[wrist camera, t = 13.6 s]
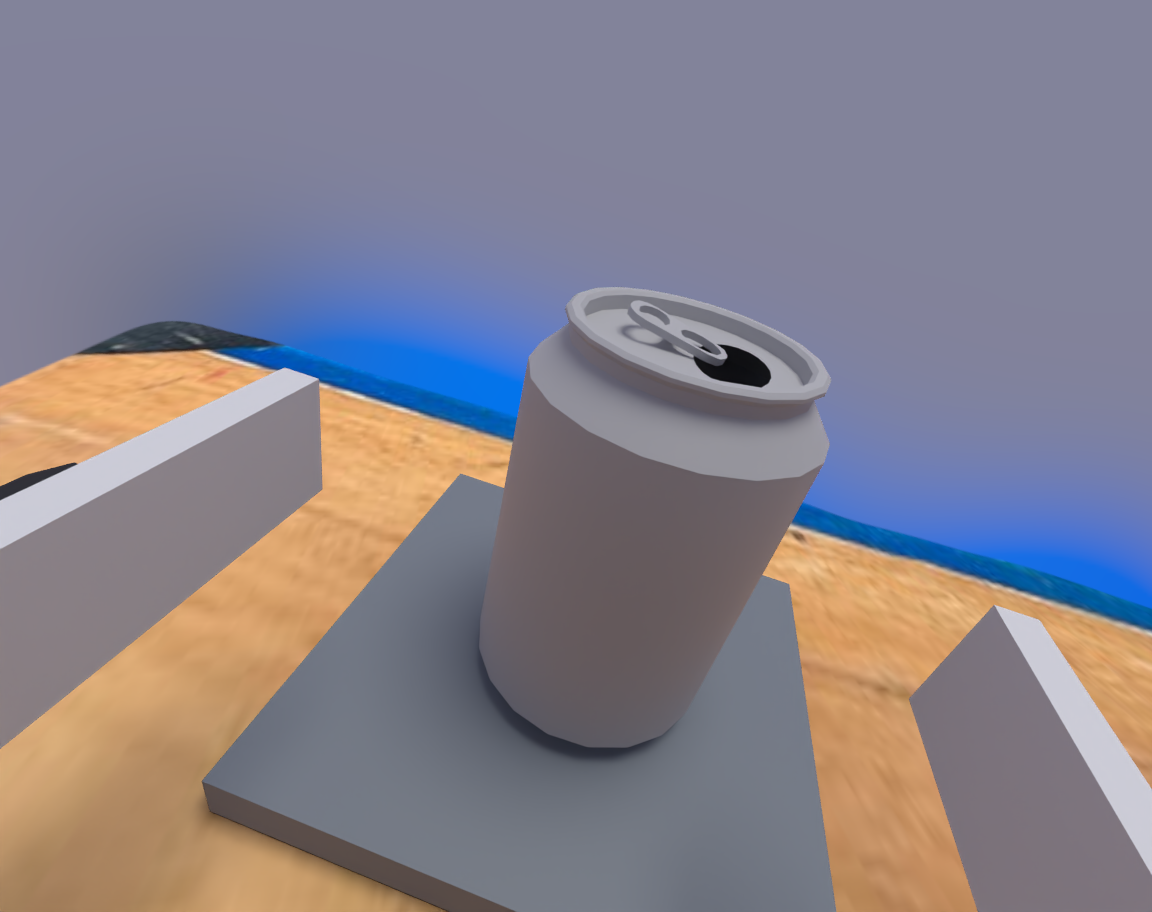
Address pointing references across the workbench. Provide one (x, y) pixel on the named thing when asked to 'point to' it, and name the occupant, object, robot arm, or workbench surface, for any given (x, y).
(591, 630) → the can
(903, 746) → the workbench surface
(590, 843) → the slate board
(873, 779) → the workbench surface
